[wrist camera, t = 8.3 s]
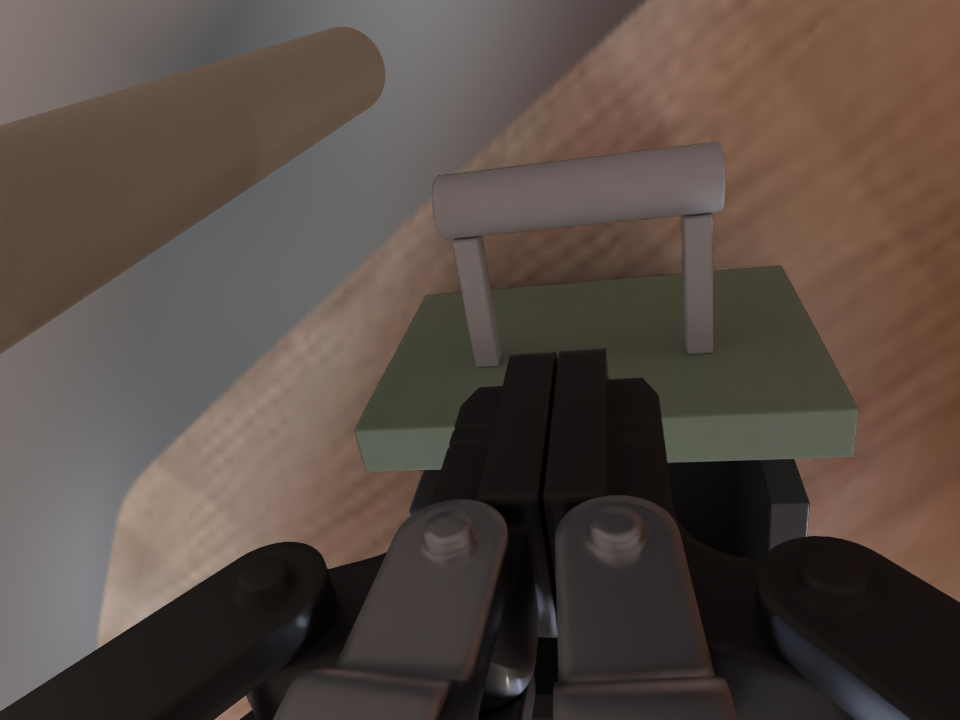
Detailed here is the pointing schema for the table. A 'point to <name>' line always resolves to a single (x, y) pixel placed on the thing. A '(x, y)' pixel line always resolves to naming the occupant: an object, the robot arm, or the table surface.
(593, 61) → the table surface
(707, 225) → the drawer
